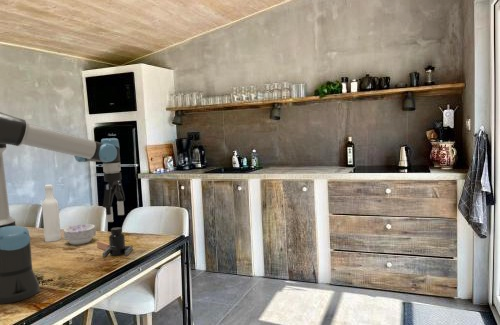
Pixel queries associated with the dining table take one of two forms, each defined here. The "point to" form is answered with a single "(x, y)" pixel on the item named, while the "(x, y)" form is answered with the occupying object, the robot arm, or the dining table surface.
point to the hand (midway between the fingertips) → (115, 218)
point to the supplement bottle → (117, 242)
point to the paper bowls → (79, 233)
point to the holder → (107, 248)
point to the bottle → (51, 216)
